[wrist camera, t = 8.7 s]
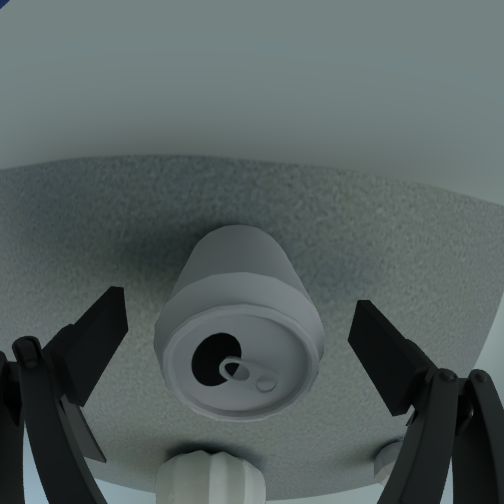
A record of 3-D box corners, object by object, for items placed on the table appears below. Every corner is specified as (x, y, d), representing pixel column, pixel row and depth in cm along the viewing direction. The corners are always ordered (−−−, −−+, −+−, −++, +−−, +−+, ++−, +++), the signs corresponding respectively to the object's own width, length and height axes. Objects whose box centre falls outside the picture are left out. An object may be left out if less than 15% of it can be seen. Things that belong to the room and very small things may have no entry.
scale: (10, 366, 24) (2, 375, 22) (71, 388, 24) (64, 400, 22) (51, 441, 28) (46, 449, 26) (106, 460, 29) (103, 470, 27)
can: (208, 207, 20) (169, 256, 8) (302, 243, 21) (371, 325, 10) (176, 296, 22) (131, 407, 10) (263, 325, 23) (284, 444, 11)
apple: (407, 449, 32) (421, 476, 26) (365, 467, 32) (376, 497, 26) (414, 425, 30) (432, 455, 23) (367, 446, 30) (381, 480, 24)
